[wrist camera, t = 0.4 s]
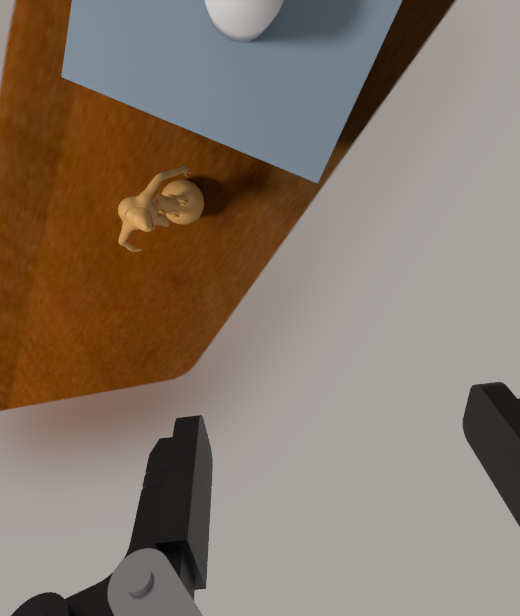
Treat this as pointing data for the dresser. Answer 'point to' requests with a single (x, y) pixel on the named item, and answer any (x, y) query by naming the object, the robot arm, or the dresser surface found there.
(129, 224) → the figurine
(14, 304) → the dresser surface
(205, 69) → the block with white knob
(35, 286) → the dresser surface
